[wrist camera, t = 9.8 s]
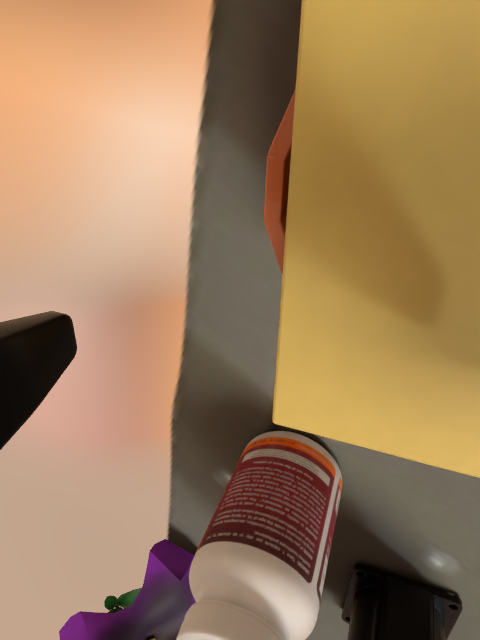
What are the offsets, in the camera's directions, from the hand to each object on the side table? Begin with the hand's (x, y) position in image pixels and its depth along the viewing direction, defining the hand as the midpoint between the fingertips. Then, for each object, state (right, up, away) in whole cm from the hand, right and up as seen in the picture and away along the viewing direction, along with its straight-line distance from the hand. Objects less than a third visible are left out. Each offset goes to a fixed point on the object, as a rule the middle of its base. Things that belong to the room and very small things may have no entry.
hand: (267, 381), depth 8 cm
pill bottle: (+3, -8, +18) cm, 20 cm away
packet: (+4, +4, +2) cm, 6 cm away
